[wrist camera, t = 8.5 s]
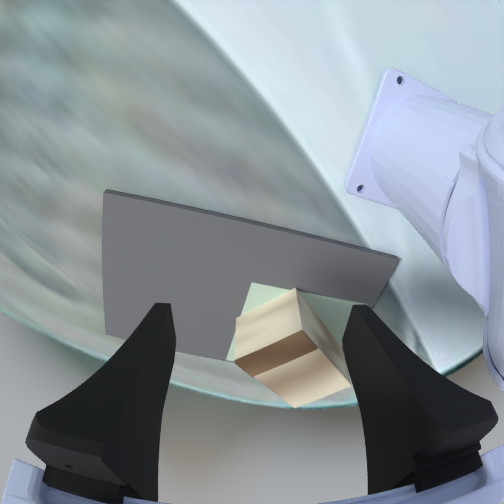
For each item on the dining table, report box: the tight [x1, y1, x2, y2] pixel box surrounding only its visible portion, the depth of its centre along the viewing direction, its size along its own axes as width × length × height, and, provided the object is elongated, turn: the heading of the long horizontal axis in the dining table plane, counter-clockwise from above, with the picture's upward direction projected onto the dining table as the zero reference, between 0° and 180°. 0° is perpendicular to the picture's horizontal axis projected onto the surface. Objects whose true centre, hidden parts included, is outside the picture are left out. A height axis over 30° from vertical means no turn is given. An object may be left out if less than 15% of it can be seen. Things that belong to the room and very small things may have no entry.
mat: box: [102, 190, 399, 362], centre depth 23 cm, size 20×13×1 cm, turn 75°
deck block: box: [234, 288, 352, 408], centre depth 23 cm, size 8×5×4 cm, turn 35°
